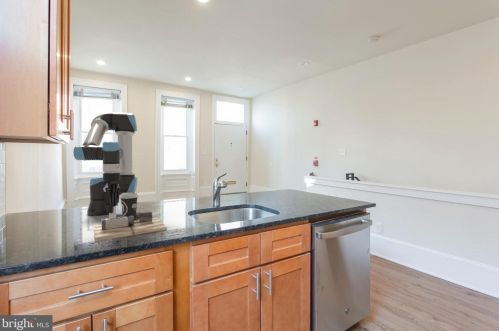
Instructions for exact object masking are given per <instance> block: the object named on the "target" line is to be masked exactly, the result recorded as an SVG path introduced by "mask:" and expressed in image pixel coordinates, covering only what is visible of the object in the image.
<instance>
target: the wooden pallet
mask: <svg viewBox="0 0 499 331" xmlns="http://www.w3.org/2000/svg"><path fill="white" fill-rule="evenodd" d="M138 215H139V216H138V220H137V219H135V220H134V225H133V226H126V227H119V228H112V229H106V230H102V225H101V224H98V225H94V242H99V241H105V240H112V239H117V238H124V237H130V236H136V235H141V234H142V235H143V234H148V233H156V232H161V231H167V229H168V228H167V227H168V226H166V224H164V223H163V222H162V221H161V220H160V218H158V217H153V211H152V210H150V211H149V210H148V211H141V212H138Z"/></svg>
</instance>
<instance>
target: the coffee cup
mask: <svg viewBox="0 0 499 331" xmlns="http://www.w3.org/2000/svg"><path fill="white" fill-rule="evenodd" d="M138 197H139V195H138V193H137V192H128V193H122V194H121V195H120V196H119V199H120V205H121V213H122V217H124V216H134V220H137V205H138Z"/></svg>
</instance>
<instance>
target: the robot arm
mask: <svg viewBox="0 0 499 331" xmlns="http://www.w3.org/2000/svg"><path fill="white" fill-rule="evenodd" d="M108 131H114V134H115V135H116V136H117V141H109V140H107V141H103V138H104V136H105V134H106V133H107V132H108ZM137 131H138V126H137V120H136V116H135V114H134V113H131V112H130V113H128V112H111V111H109V112H108V111H107V112H103V113H100V114H99V115H96V117H94V118H93V119H92V121H91V123H90V128H89V131H88V133H87V135H86V137H85V139H84V141H83V143H82V145H75V146H74V148H73V154H72V155H73V157H74V159H75V160H77V161H102V172H103V173H102V176H97V177H92V178H91V179H90V180H89V198H90V200H89V204H88V207H87V211H86V213H87V216H104V215H108V218H116V217H117V210H116V209H117V206H119V203H120V196H121V194H122V193H128V192H135V193H137V192H136V191H137V186H138V177H136V174H135V173H134V172H133V136H134V135H135V132H137ZM102 141H103V142H102ZM101 143H102V145H101Z"/></svg>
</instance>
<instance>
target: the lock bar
mask: <svg viewBox="0 0 499 331" xmlns="http://www.w3.org/2000/svg"><path fill="white" fill-rule="evenodd" d="M100 220H101V221H100V222H101V224H100V225H102V230H106V229H112V228H119V227H126V226H133V225H134V216H124V217H123V216H118V217H117V216H116V218H109V217H108V218H100Z"/></svg>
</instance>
